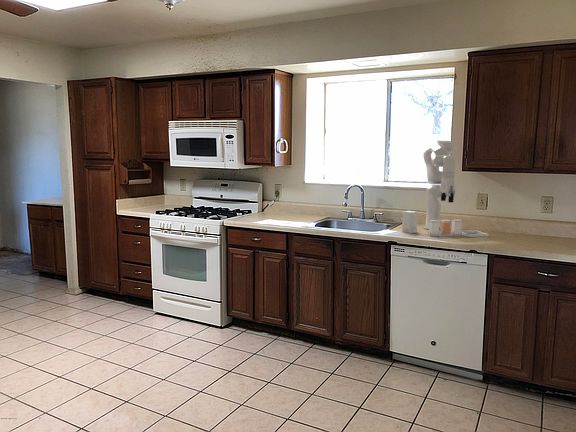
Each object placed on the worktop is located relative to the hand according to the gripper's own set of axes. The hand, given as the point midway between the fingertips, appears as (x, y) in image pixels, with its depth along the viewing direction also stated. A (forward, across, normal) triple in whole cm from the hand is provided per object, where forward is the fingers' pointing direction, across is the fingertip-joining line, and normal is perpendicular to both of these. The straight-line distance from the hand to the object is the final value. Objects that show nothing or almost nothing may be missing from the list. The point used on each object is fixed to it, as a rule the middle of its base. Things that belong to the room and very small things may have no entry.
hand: (446, 201), depth 301 cm
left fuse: (+22, -1, -8) cm, 24 cm away
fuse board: (+24, -1, 0) cm, 24 cm away
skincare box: (+24, -16, -18) cm, 34 cm away
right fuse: (+22, -1, +8) cm, 24 cm away
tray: (+24, -1, +20) cm, 31 cm away
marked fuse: (+22, -1, 0) cm, 22 cm away
